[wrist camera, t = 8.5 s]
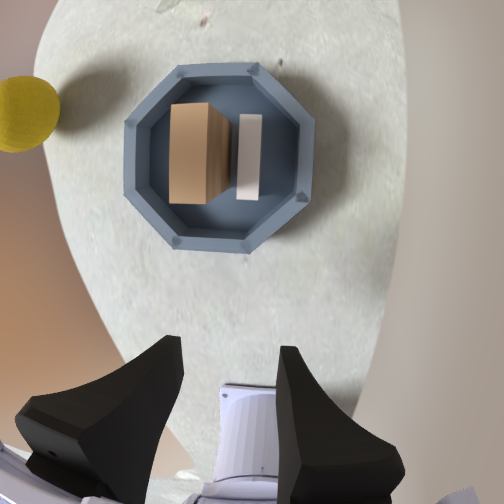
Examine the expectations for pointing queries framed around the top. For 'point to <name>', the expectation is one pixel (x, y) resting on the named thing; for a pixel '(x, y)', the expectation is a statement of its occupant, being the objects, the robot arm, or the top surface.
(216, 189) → the brown wooden plank
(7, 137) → the lemon
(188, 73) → the octagonal blue tray
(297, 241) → the top surface
